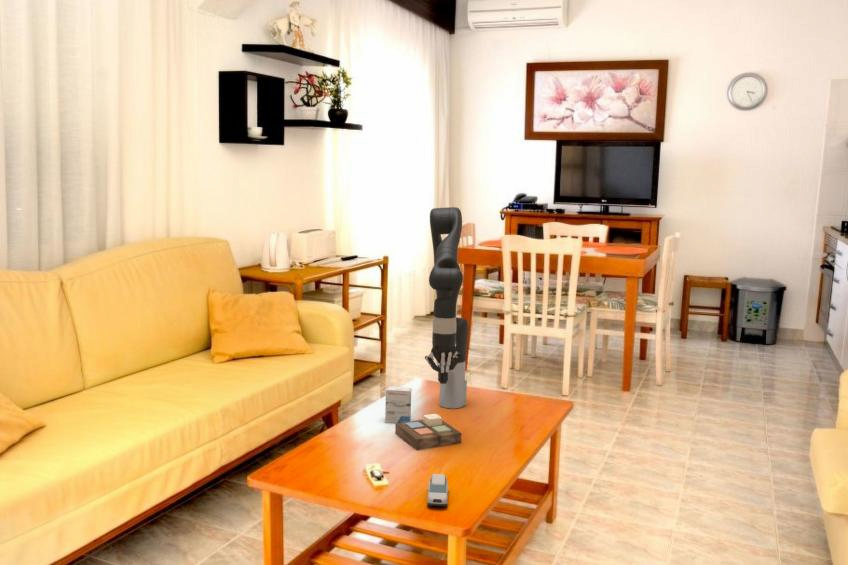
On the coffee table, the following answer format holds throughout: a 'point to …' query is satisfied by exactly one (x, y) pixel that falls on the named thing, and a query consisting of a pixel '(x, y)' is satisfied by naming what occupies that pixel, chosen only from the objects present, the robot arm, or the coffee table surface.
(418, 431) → the terracotta key
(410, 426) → the slate key
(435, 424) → the cream key
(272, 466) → the coffee table surface
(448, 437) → the keypad housing
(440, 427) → the sage key
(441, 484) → the toy car
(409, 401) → the ink box
